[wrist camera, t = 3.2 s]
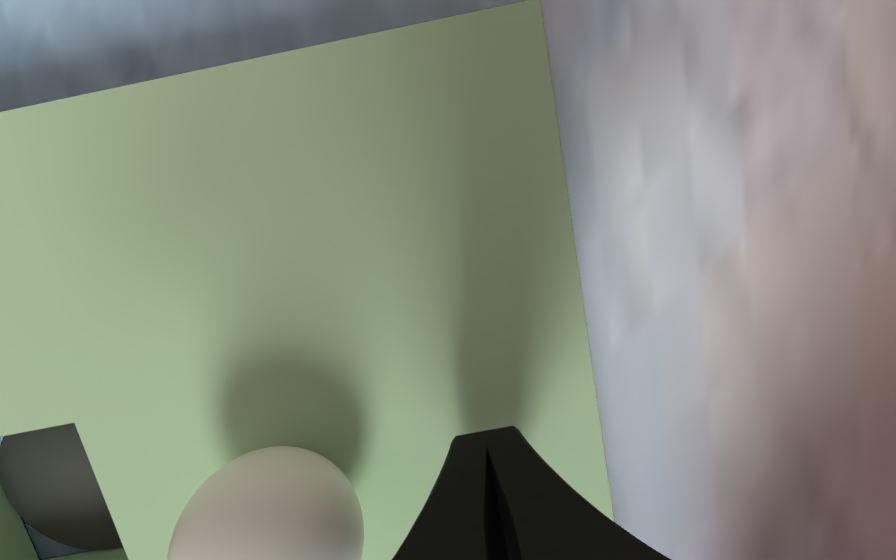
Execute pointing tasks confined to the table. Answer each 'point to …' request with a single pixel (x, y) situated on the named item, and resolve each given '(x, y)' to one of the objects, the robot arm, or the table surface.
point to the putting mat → (289, 281)
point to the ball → (272, 511)
